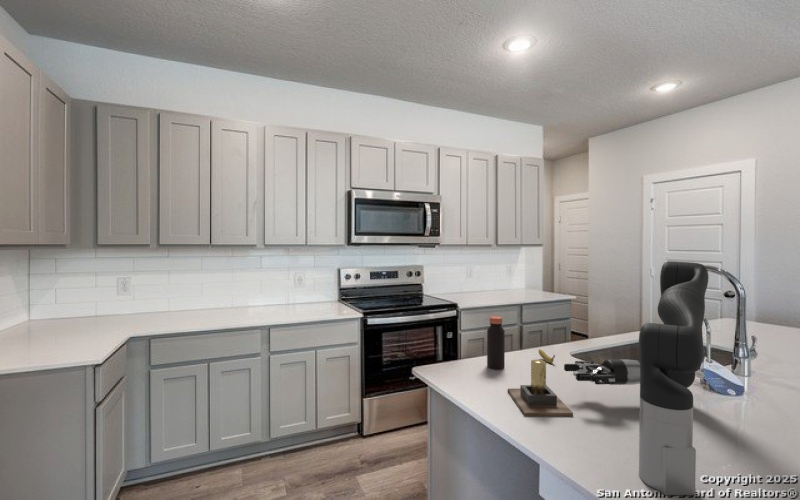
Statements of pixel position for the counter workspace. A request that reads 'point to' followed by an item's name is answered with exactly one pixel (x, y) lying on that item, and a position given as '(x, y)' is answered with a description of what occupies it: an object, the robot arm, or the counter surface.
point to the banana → (546, 356)
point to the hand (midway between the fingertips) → (570, 372)
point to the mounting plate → (539, 402)
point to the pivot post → (538, 377)
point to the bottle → (495, 344)
